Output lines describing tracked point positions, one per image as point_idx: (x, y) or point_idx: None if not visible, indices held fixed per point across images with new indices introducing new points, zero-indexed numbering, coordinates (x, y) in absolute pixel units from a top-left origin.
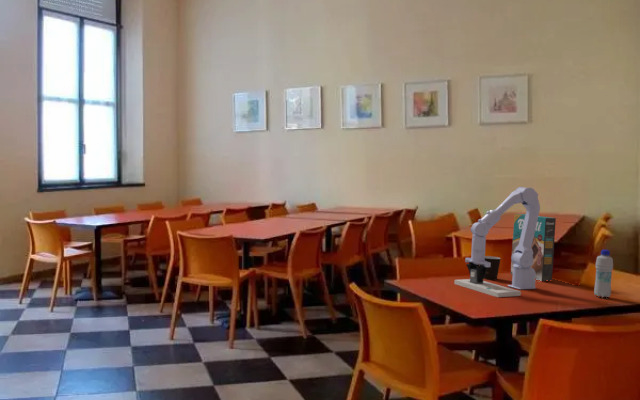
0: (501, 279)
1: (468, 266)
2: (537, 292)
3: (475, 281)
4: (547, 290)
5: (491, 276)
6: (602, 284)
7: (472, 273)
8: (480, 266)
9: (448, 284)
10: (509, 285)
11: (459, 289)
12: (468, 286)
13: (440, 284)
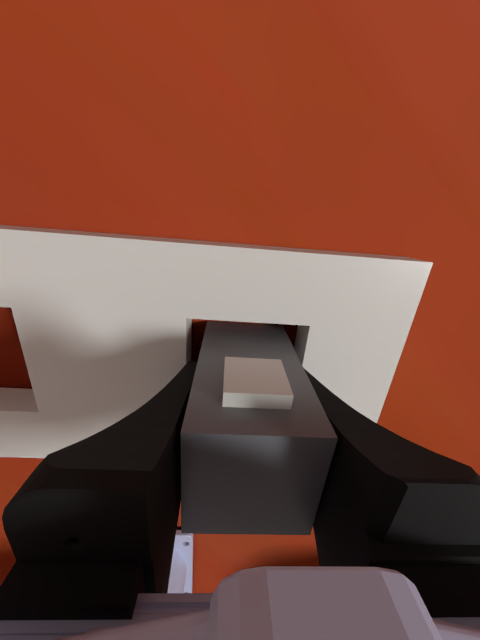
0: None
1: (401, 458)
2: (13, 555)
3: (209, 344)
4: None
5: None
6: None
7: (255, 380)
8: (48, 539)
9: (422, 175)
10: (175, 537)
11: (177, 84)
12: (205, 243)
13: (474, 68)
